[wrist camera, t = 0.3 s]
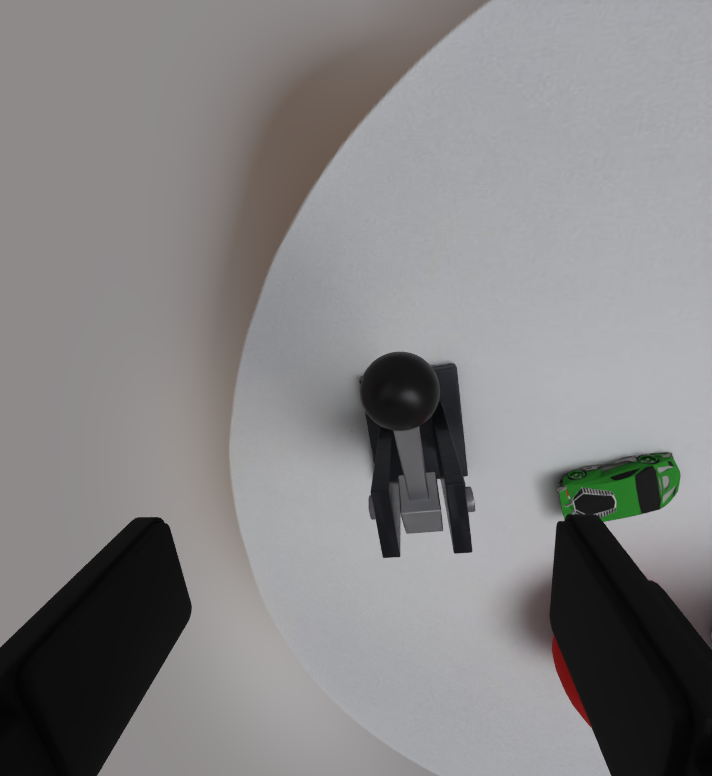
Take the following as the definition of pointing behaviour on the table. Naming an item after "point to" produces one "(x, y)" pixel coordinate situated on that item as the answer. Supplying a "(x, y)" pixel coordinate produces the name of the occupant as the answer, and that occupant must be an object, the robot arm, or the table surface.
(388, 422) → the lever
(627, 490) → the toy car
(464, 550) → the bracket
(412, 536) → the table surface
